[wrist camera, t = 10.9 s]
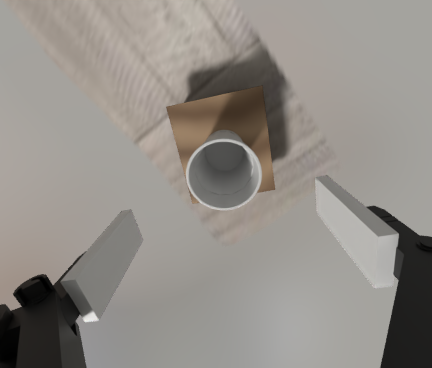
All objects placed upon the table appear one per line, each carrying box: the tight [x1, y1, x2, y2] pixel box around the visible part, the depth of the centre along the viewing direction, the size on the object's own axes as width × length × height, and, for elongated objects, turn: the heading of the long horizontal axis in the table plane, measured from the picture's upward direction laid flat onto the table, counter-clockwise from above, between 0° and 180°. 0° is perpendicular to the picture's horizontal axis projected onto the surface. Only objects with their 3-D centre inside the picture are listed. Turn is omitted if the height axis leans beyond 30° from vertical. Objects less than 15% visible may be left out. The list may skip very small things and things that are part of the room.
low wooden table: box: [166, 86, 275, 204], centre depth 37 cm, size 16×14×6 cm
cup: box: [186, 130, 262, 210], centre depth 29 cm, size 8×8×12 cm
